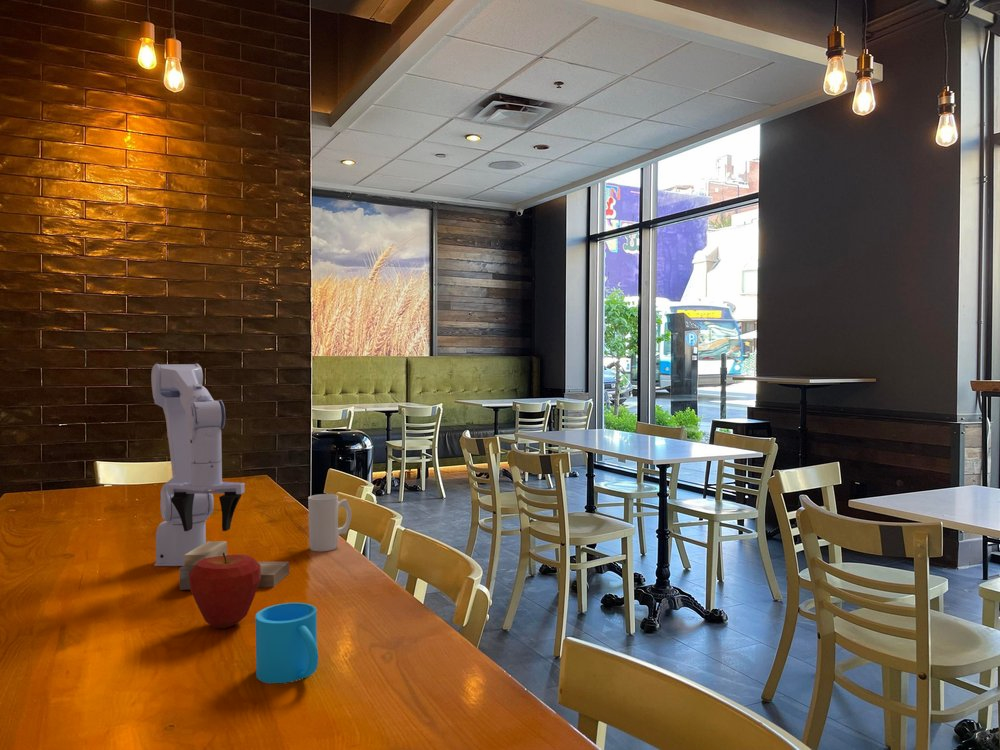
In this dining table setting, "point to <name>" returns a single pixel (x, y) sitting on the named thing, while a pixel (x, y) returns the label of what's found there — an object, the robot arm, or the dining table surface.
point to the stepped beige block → (197, 555)
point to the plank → (272, 573)
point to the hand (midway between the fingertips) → (207, 530)
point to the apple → (224, 588)
